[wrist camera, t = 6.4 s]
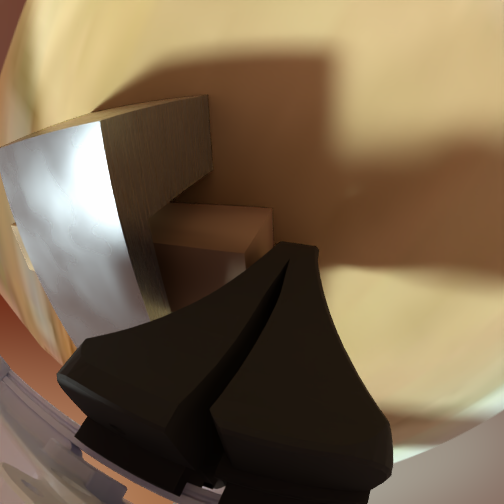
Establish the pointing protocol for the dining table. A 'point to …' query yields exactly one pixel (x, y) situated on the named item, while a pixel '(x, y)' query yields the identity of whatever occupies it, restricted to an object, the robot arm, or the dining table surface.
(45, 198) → the sleeve housing
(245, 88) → the dining table surface
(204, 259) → the capped rod
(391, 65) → the dining table surface
